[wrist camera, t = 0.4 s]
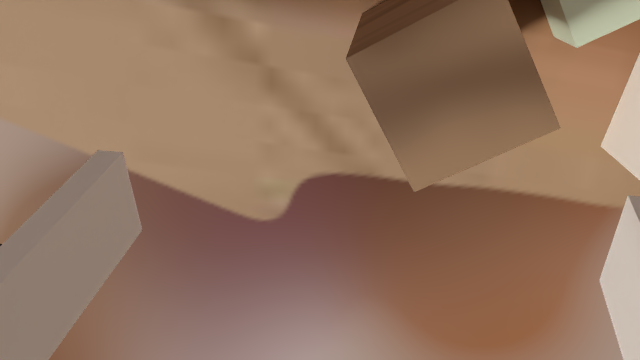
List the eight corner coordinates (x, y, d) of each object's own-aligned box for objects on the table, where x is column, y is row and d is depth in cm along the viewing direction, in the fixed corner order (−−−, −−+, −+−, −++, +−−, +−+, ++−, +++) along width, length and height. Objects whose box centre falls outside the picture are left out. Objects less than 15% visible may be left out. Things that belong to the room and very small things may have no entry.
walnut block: (362, 13, 38) (345, 58, 21) (446, -32, 36) (499, -22, 20) (401, 92, 40) (413, 191, 23) (482, 52, 38) (560, 127, 21)
